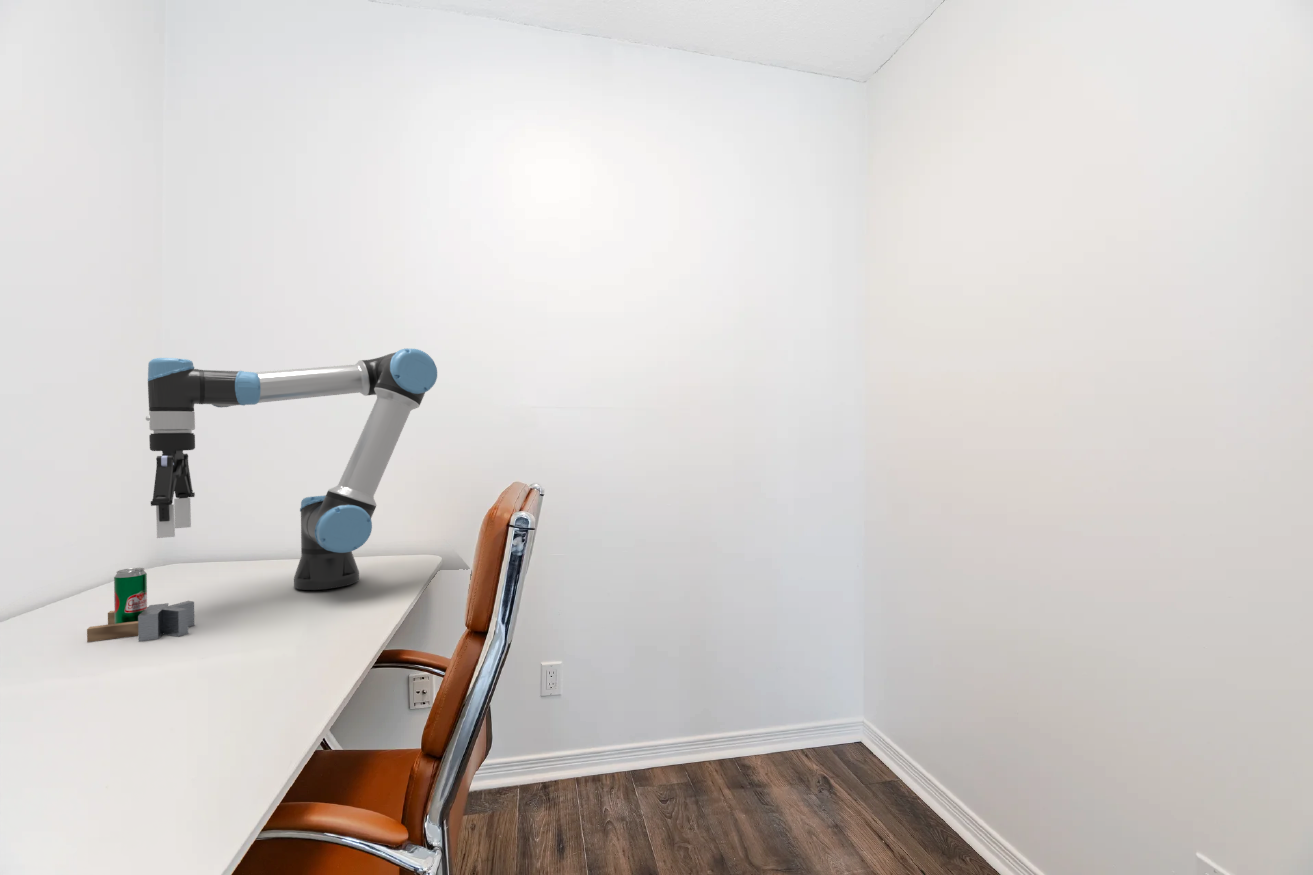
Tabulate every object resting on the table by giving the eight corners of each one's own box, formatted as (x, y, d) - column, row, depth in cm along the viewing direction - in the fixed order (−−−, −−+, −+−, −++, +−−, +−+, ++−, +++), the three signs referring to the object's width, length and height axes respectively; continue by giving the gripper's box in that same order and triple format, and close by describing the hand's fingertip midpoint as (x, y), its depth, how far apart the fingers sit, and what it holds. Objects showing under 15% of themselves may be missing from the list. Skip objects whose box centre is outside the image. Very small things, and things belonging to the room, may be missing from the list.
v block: (195, 623, 127) (195, 600, 127) (186, 635, 119) (186, 610, 119) (150, 629, 123) (150, 604, 123) (138, 641, 116) (137, 615, 116)
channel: (158, 617, 131) (158, 605, 131) (140, 635, 120) (140, 622, 120) (110, 622, 128) (110, 610, 128) (87, 641, 116) (87, 628, 116)
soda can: (128, 632, 121) (127, 573, 121) (108, 631, 122) (107, 572, 122) (153, 624, 126) (153, 567, 126) (134, 623, 127) (133, 566, 127)
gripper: (166, 432, 137) (168, 525, 137) (130, 432, 115) (132, 543, 115) (207, 431, 140) (209, 522, 141) (179, 431, 118) (182, 539, 119)
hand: (174, 532), depth 128 cm, fingers open, 13 cm apart
